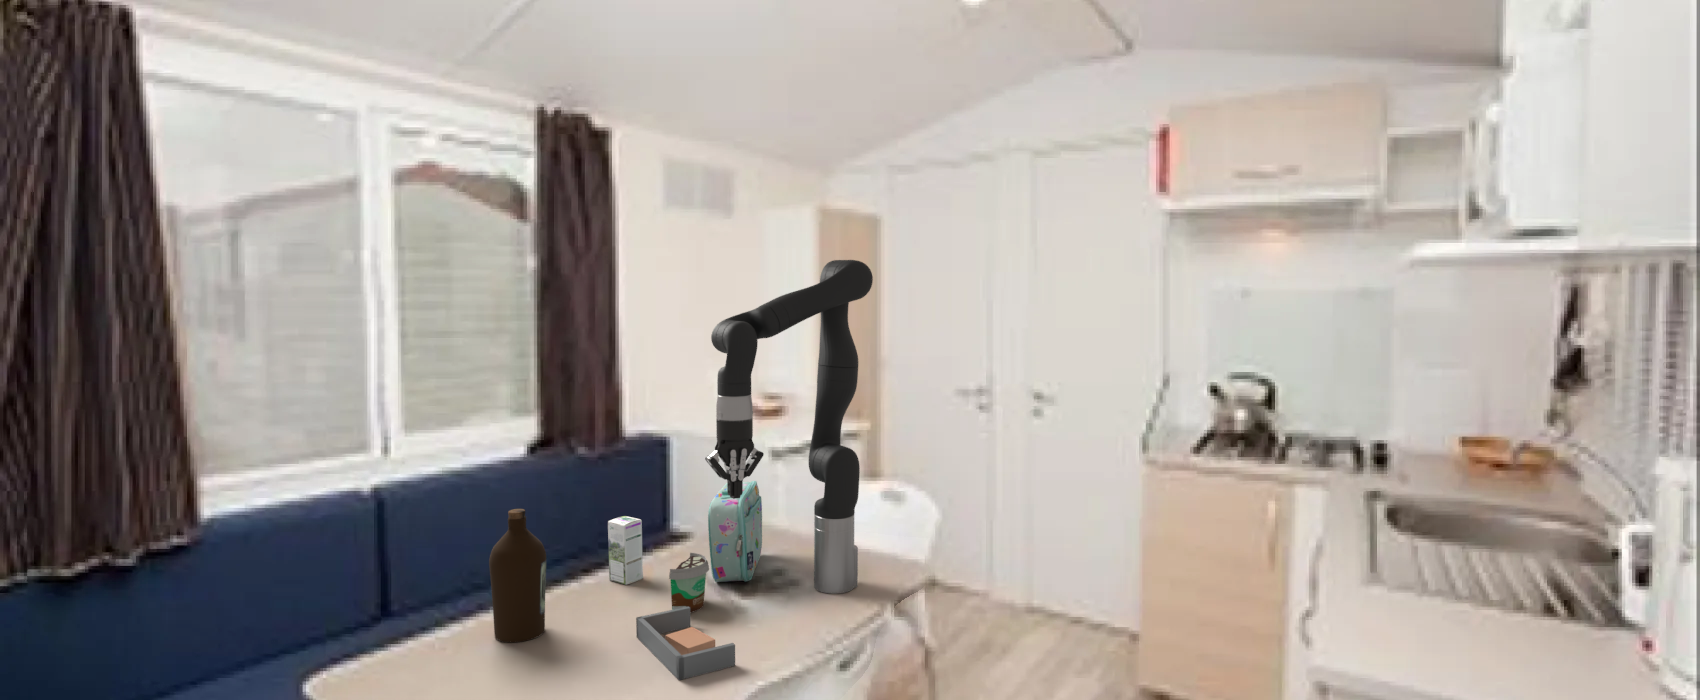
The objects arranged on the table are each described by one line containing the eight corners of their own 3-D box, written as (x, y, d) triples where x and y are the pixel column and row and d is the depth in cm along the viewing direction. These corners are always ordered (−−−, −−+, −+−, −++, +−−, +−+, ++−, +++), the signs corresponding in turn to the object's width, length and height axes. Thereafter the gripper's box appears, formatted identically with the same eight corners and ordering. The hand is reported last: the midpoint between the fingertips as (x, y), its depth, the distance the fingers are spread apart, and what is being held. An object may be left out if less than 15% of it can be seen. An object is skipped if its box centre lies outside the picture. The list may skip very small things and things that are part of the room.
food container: (696, 618, 183) (696, 572, 182) (669, 616, 184) (668, 569, 183) (717, 597, 195) (717, 553, 194) (691, 595, 196) (691, 551, 195)
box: (688, 625, 179) (688, 606, 179) (735, 665, 161) (735, 644, 160) (636, 636, 173) (636, 617, 173) (678, 680, 155) (678, 658, 154)
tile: (692, 641, 172) (692, 626, 172) (715, 654, 166) (715, 639, 166) (665, 650, 168) (665, 635, 168) (688, 663, 162) (688, 648, 162)
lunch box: (751, 590, 199) (751, 498, 197) (706, 590, 199) (705, 498, 198) (764, 553, 226) (764, 472, 224) (724, 553, 226) (724, 471, 224)
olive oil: (493, 648, 168) (489, 520, 165) (489, 628, 177) (486, 507, 175) (551, 638, 172) (548, 514, 170) (544, 619, 182) (541, 501, 180)
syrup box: (643, 578, 207) (643, 518, 205) (625, 585, 202) (624, 524, 200) (626, 573, 210) (626, 514, 208) (607, 581, 205) (606, 520, 203)
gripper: (754, 411, 189) (755, 489, 191) (697, 416, 182) (698, 497, 183) (771, 416, 183) (771, 497, 184) (712, 421, 176) (713, 506, 177)
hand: (734, 497), depth 184 cm, fingers closed
